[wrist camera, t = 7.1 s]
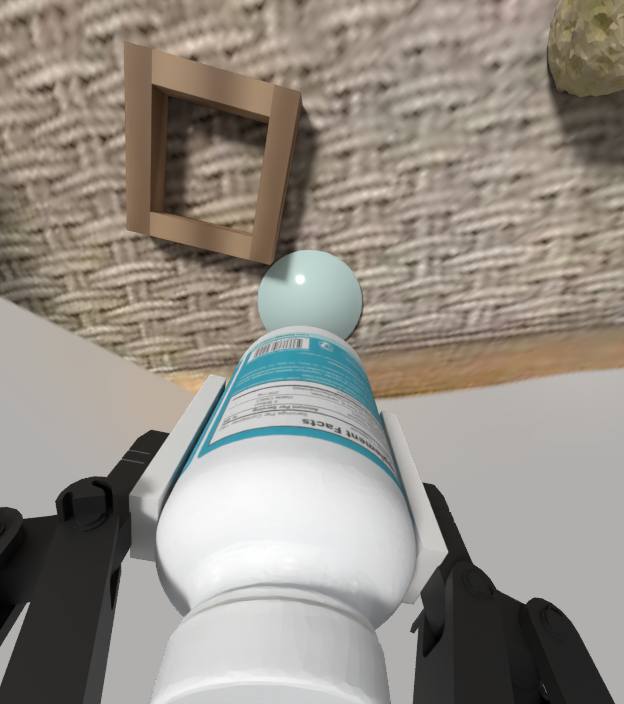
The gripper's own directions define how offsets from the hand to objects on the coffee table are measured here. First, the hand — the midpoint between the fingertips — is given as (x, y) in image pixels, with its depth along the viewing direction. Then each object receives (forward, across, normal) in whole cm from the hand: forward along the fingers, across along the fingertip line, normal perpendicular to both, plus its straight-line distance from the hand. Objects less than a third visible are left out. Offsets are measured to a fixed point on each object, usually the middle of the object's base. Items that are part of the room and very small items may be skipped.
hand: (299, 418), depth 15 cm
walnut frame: (+20, -11, +10) cm, 25 cm away
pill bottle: (+4, 0, 0) cm, 4 cm away
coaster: (+20, 0, 0) cm, 20 cm away
